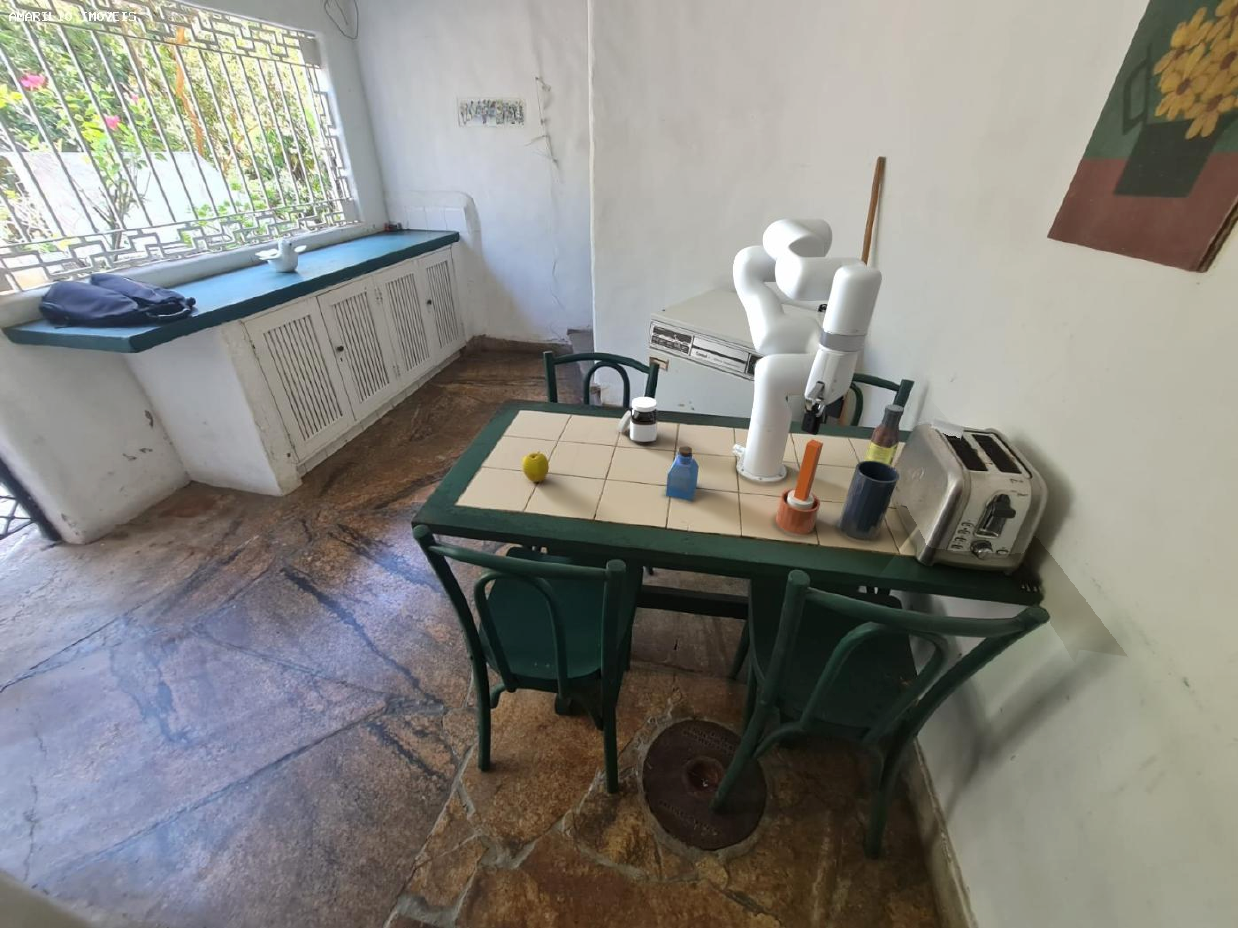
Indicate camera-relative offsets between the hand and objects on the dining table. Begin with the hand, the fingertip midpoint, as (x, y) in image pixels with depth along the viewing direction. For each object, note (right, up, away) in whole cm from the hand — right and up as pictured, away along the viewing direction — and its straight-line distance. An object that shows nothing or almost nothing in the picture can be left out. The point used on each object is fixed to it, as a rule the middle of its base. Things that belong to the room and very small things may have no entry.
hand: (820, 424), depth 101 cm
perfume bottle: (-25, -15, +24) cm, 38 cm away
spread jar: (-35, 0, +47) cm, 58 cm away
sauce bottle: (+26, -12, +31) cm, 42 cm away
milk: (+31, -18, +21) cm, 42 cm away
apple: (-61, -12, +28) cm, 68 cm away
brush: (0, -21, +14) cm, 25 cm away
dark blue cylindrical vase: (+13, -23, +13) cm, 29 cm away
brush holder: (0, -22, +14) cm, 26 cm away
